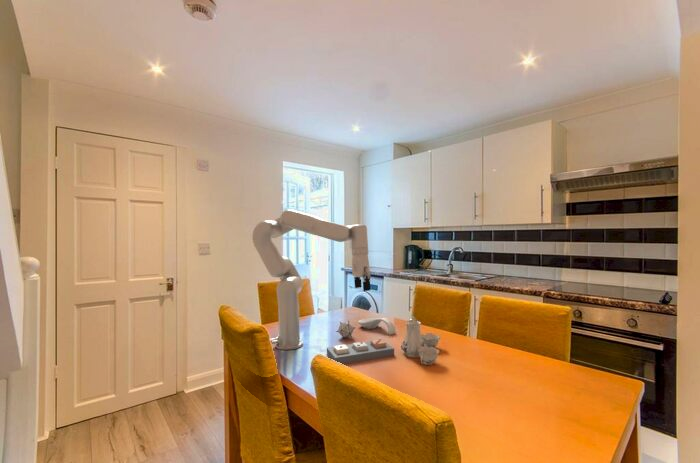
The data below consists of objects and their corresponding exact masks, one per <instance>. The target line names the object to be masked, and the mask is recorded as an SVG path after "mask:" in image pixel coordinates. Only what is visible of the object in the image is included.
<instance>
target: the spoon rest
mask: <svg viewBox="0 0 700 463" xmlns="http://www.w3.org/2000/svg"><path fill="white" fill-rule="evenodd" d="M357 322H358V324H359V325H360V326H361V328H364V329H369V330H372V329H375V328H376V327H378V326H379V325H380V323H381V322H383V323H385V324H386V326H387V328H388V335H389V336H392V335H395V334H396V333H397V332H396V327H395V325H394V324H393V322H392V321H391V320H390V319H389V318H387V317H381V318H376V317H375V318H374V317H373V318H372V317H368V318H367V317H366V318H363V319H360V320H358V321H357Z"/></svg>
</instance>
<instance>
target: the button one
mask: <svg viewBox="0 0 700 463" xmlns="http://www.w3.org/2000/svg"><path fill="white" fill-rule="evenodd" d="M346 345H347V344H345V343H344V344H340V345H339V344H337V345H333V347H334V352H335V353H336V354H343V353H349V348H348V347H347V346H346Z"/></svg>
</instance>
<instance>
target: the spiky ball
mask: <svg viewBox="0 0 700 463" xmlns="http://www.w3.org/2000/svg"><path fill="white" fill-rule="evenodd" d="M339 323H340V324H339V327H338V330H336V331H335V332H336V333H338V334H339V335H340V336H341V337H342V340H344V339H345V338H353V336H352V335H353V333H354V329H356V327H354V326H353V325H352V324H351V322H350V320H347V321H346V322H341V321H339Z"/></svg>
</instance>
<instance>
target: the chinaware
mask: <svg viewBox="0 0 700 463" xmlns="http://www.w3.org/2000/svg"><path fill="white" fill-rule="evenodd" d="M421 324H422V322H421V321H420V320H418V319H416V317H415V316H414V315H412V316H411V318H409V320H406V321H405V325H406V334H405V337H404V339H403V341H402V343H401V345H400V348H401V350H402V351H403V355H405V356H406V357H408V358H419V359H420V363H421V364H422V365H423V364H424V365H427V366H430V365H433V363H434V362H435V361H436V360H437V359H438V355H439V353H440V352H441V350H440V349H437V348H436V347H437V345H438V344H439V341H440V340H441V337H440V335H439V334H433V333H432V332H431V333H430V332H429V333H425V334H422V333H421Z"/></svg>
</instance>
